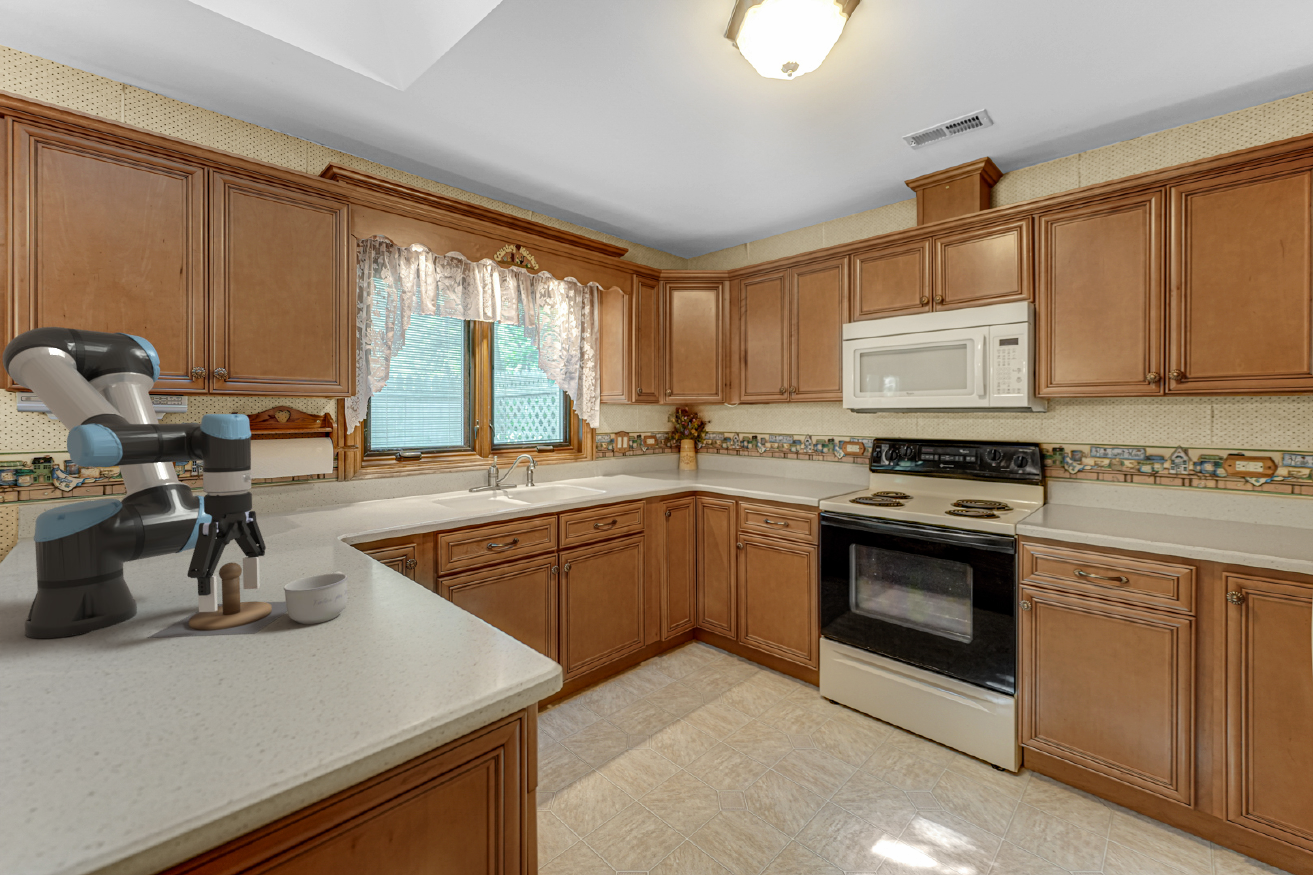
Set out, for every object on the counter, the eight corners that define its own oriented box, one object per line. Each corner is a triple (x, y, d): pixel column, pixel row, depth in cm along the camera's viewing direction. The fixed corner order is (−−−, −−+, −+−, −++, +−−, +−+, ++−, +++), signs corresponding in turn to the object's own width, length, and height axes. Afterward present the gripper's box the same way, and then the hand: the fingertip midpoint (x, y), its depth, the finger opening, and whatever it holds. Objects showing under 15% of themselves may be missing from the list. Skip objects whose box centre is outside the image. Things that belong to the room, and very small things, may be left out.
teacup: (319, 631, 105) (318, 589, 105) (270, 627, 107) (269, 585, 107) (371, 606, 119) (370, 569, 118) (326, 603, 121) (326, 566, 121)
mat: (146, 640, 101) (146, 637, 101) (212, 605, 119) (212, 603, 119) (254, 635, 103) (254, 633, 103) (303, 602, 121) (303, 600, 121)
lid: (171, 631, 104) (169, 573, 103) (217, 607, 116) (215, 555, 116) (247, 628, 105) (246, 571, 105) (284, 604, 118) (283, 553, 118)
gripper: (206, 502, 98) (210, 621, 99) (282, 484, 123) (285, 579, 124) (159, 502, 97) (163, 623, 98) (245, 484, 122) (248, 580, 123)
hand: (231, 599), depth 111 cm, fingers open, 13 cm apart
